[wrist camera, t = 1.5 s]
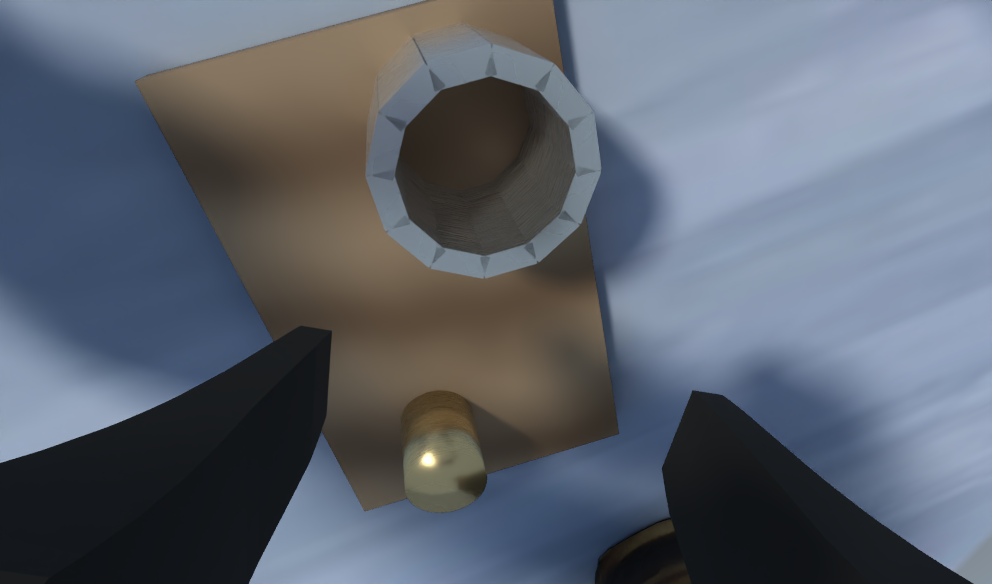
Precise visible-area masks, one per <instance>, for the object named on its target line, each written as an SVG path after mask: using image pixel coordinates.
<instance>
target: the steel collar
mask: <svg viewBox="0 0 992 584" xmlns="http://www.w3.org/2000/svg"><path fill="white" fill-rule="evenodd" d="M413 37H414V39H413ZM413 37H412V36H411V37H410V38H409V39H408V40H407V41H406V42H405V43H404V45H403V46H402V47H401V48H400V49H399V50H398V51H397V52H396V53H395V54H394V55H393V57H392V58H391V59H390V60H389V61H388V62H387V63H386V64H385V65H384V66H383V68H382V69H381V70H380V71H379V72H378V75H377V76H376V81H375V86H374V91H373V96H372V101H371V106H370V111H369V116H368V121H367V141H366V169H365V175H366V176H365V177H366V180H367V183H368V185H369V188H370V191H371V194H372V197H373V199H374V202H375V205H376V208H377V210H378V213H379V216H380V219H381V221H382V224H383V227H384V230H385V231H386V233H387V234H388V235H389V236H390V237H392V238H393V239H394V240H395V241H397V242H398V243H399V244H400V245H401V246H403V247H404V248H405V249H406V250H407V251H409V252H410V253H411V254H412V255H414V256H415V257H416V258H417V259H418V260H420V261H421V262H422V263H423V264H425V265H426V266H427V267H428V268H429V267H430V268H431V269H434V270H440V271H445V272H450V273H456V274H461V275H466V276H472V277H477V278H482V279H483V278H484V276H485V279H486V278H489V277H493V276H496V275H499V274H503V273H506V272H510V271H513V270H517V269H520V268H524V267H527V266H530V265H534V264H537V261H538V262H540V261H541V260H542V259H543V258H545V257H546V256H547V255H548V254H549V253H550V252H551V251H552V250H553V249H555V248H556V247H557V246H558V245H559V244H560V243H561V242H562V241H563V240H565V239H566V238H567V237H568V236H569V235H570V234H571V233H572V232H573V231H575V230H576V229H577V228H578V227H579V226H580V225H579V224H581V223H582V220H583V218H584V215H585V213H586V210H587V207H588V205H589V202H590V200H591V197H592V195H593V192H594V190H595V187H596V184H597V182H598V179H599V177H600V174H601V171H600V170H602V168H601V161H600V153H599V145H598V138H597V130H596V122H595V115H594V112H593V110H592V108H591V107H590V106H589V105H588V104H587V102H586V101H585V100H584V99H583V97H582V96H581V95H580V94H579V93H578V91H577V90H576V89H575V88H574V86H573V85H572V84H571V83H570V81H569V80H568V79H567V78H566V77H565V75H564V74H563V73H562V72H561V70H560V69H559V68H558V67H557V66H556V64H554V63H553V62H551V61H549V60H547V59H546V58H544V57H542V56H541V55H539V54H537V53H535V52H534V51H532V50H530V49H529V48H527V47H525V46H524V45H522V44H520V43H518V42H517V41H515V40H513V39H512V38H510V37H507V36H504V35H501V34H498V33H495V32H492V31H489V30H486V29H483V28H479V27H476V26H473V25H470V24H467V23H464V22H463V23H461V22H459V23H456V24H452V25H448V26H444V27H441V28H437V29H433V30H430V31H426V32H422V33H419V34H415V35H413ZM490 76H492V77H495V78H499V79H502V80H505V81H509V82H512V83H515V84H519V85H522V86H523V90H524V95H525V101H526V106H527V111H528V116H529V121H530V123H529V126H528V129H527V132H526V136H525V139H524V142H523V145H522V148H521V151H520V154H519V157H518V158H517V159H516V160H515V161H514V162H513V163H512V164H511V165H510V166H509V167H508V168H507V169H505V170H504V171H503V172H502V173H501V174H500V175H499V176H498V177H497V178H496V179H495V180H494V181H492V182H489V183H485V184H481V185H478V186H474V187H471V188H467V189H464V190H456V189H452V188H448V187H443V186H439V185H435V184H431V183H427V182H426V181H424V180H423V179H422V178H421V177H420V176H419V175H418V174H417V173H416V172H415V171H414V170H412V169H411V168H410V167H409V166H408V165H407V164H406V163H405V162H404V161H403V160H402V159H401V158H400V155H399V153H400V148H401V144H402V140H403V135H404V131H405V127H406V126H407V125H408V124H409V123H410V122H411V121H412V120H413V119H414V118H415V117H416V116H417V115H418V113H419V112H420V111H421V110H422V109H423V108H424V107H425V106H426V105H427V104H428V103H429V102H430V101H431V100H432V99H433V98H434V97H435V96H436V95H437V94H438V93H439V92H440V90H443V89H446V88H450V87H453V86H457V85H461V84H464V83H468V82H472V81H475V80H479V79H482V78H486V77H490ZM578 223H579V224H578Z"/></svg>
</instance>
